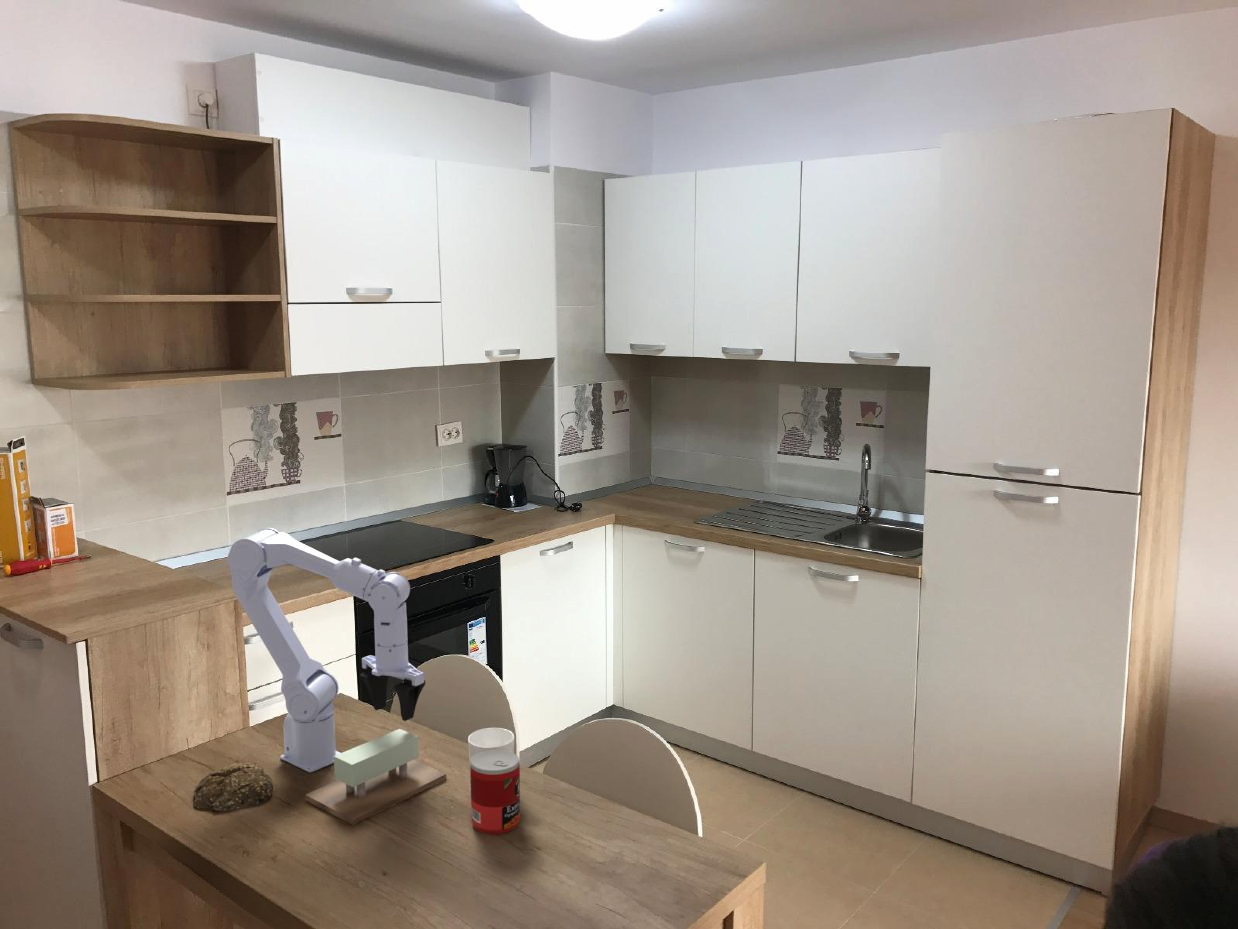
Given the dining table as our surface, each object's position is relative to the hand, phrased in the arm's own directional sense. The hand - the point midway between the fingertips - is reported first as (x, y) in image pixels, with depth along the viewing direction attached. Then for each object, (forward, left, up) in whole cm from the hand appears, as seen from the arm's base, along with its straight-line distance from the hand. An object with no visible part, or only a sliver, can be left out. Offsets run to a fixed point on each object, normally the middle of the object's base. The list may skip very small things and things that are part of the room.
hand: (393, 713), depth 179 cm
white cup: (+21, +4, -10) cm, 24 cm away
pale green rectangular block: (+5, -8, -6) cm, 11 cm away
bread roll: (-13, -25, -10) cm, 30 cm away
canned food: (+29, -3, -10) cm, 31 cm away
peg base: (+5, -8, -10) cm, 14 cm away
